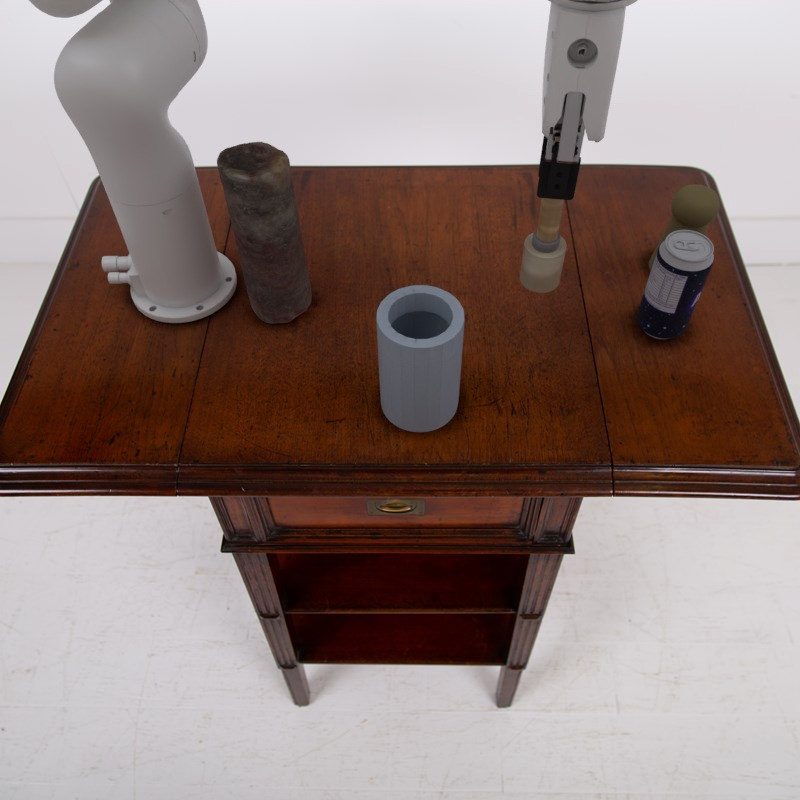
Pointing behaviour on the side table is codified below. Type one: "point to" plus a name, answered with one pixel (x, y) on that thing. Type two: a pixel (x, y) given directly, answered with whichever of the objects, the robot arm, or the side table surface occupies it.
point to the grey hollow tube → (420, 356)
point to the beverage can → (675, 284)
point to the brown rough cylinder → (266, 229)
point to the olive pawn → (691, 212)
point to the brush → (544, 249)
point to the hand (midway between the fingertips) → (555, 186)
